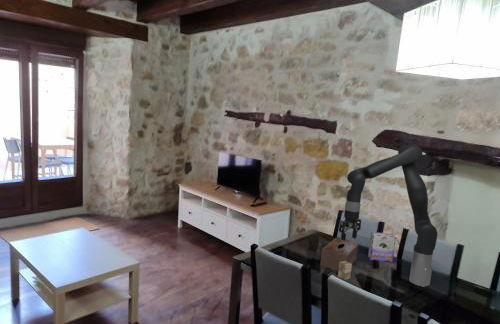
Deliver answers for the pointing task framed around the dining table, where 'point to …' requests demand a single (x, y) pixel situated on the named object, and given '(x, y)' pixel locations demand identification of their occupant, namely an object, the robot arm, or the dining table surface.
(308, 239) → the dining table surface
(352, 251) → the tissue box cover
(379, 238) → the candy box
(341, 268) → the oak block
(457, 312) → the dining table surface
